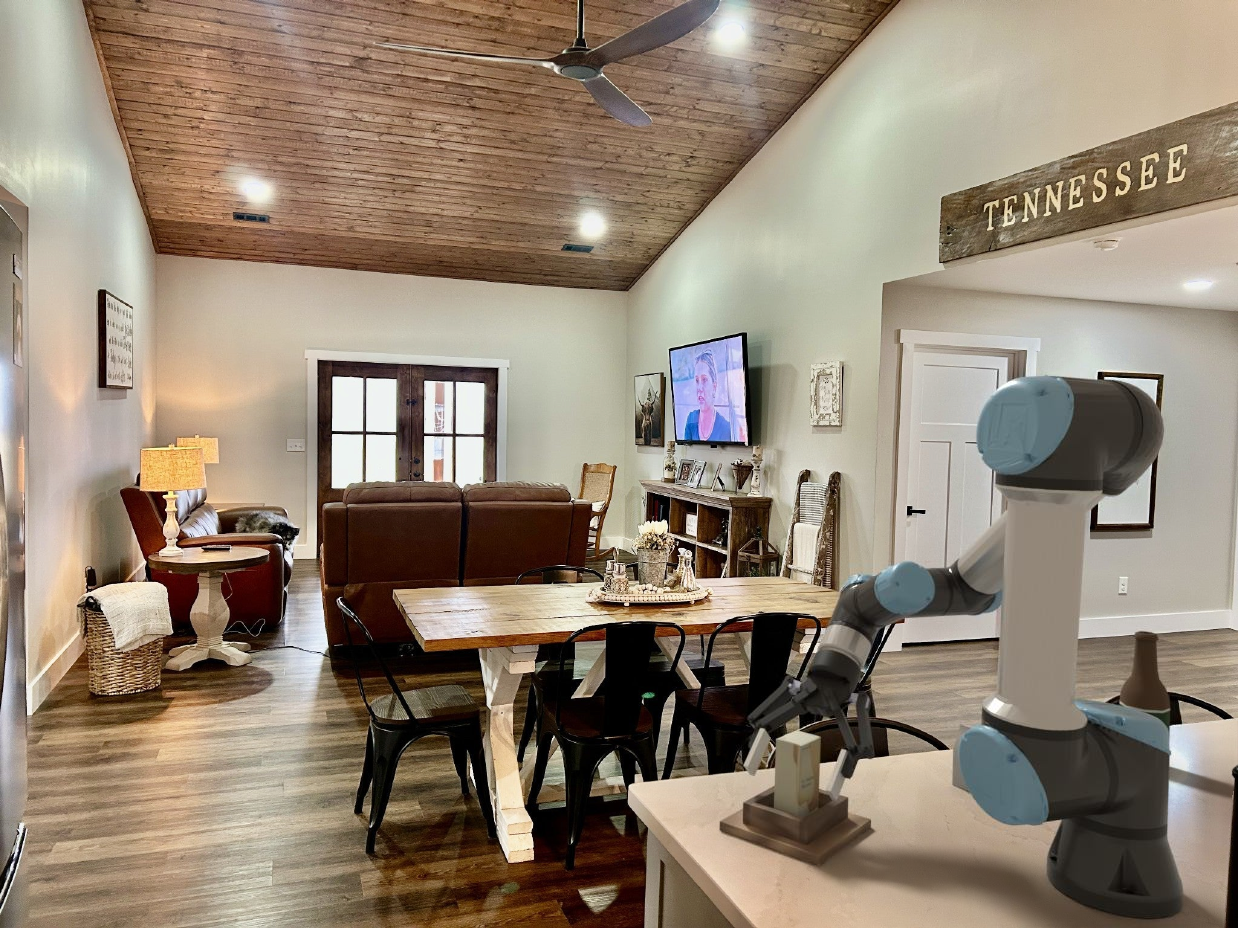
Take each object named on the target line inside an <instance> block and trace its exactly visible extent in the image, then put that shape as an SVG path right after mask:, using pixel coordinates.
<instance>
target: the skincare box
mask: <svg viewBox="0 0 1238 928" xmlns="http://www.w3.org/2000/svg"><path fill="white" fill-rule="evenodd" d="M821 738H822V737H821V736H819V735H816V734H813V733H808V732H804V731H800V730H793V731H791V732H789V733H785V734H784V735H783V736H779V737H778V738H776V739H775V758H774V759H775V763H774V764H775V765H774V786H775V787H774V809H776V810H779V811H782V812H786V813H789V814H792V815H795V816H798V817H801V818H805V817H807V816H809V815H810V814H812V813H813V812H815V811H816V810H818V805H819V789H820V768H821V740H822V739H821Z"/></svg>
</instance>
